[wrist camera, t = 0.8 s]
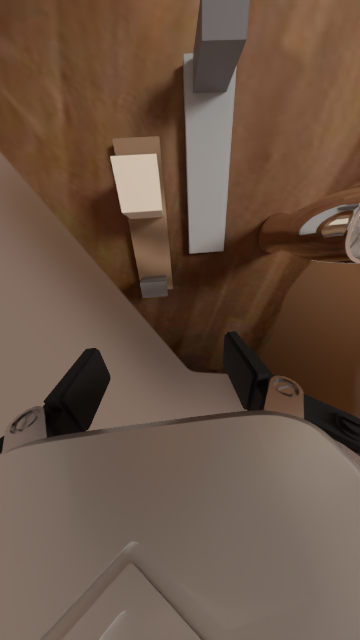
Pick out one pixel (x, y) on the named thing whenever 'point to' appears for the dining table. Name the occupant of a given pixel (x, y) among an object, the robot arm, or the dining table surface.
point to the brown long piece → (149, 227)
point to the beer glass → (317, 229)
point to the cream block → (138, 185)
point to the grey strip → (211, 117)
